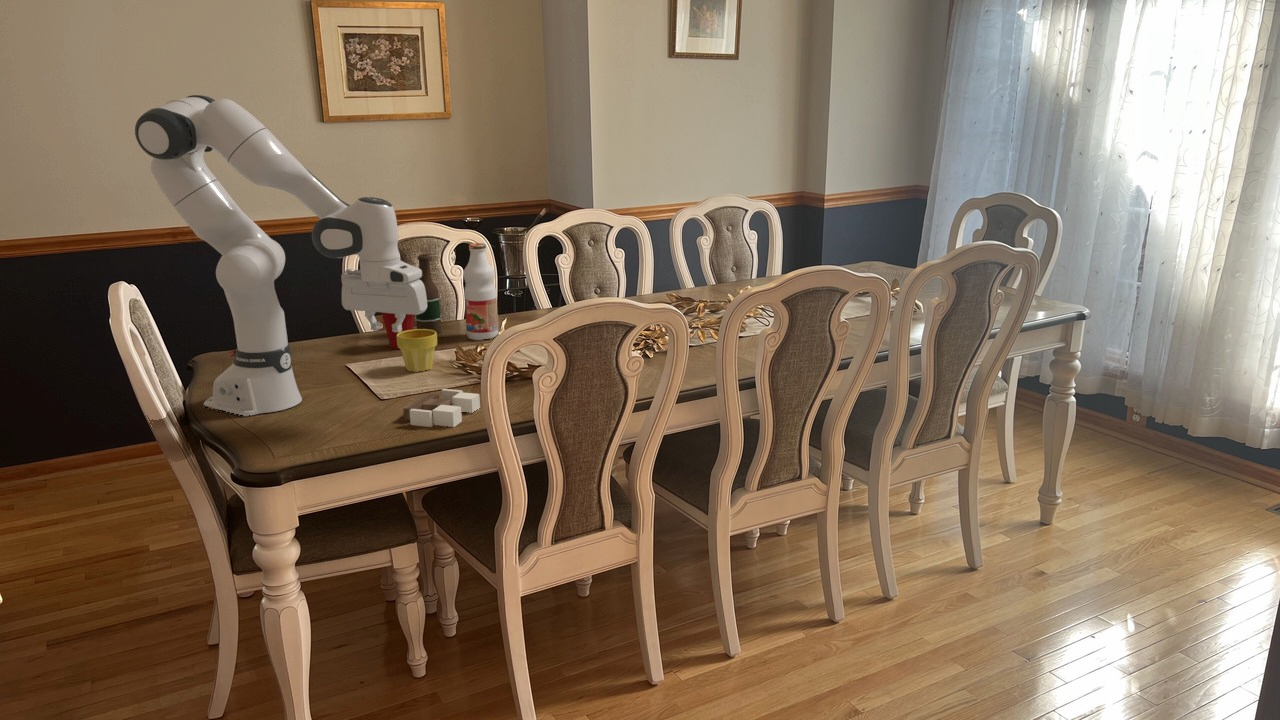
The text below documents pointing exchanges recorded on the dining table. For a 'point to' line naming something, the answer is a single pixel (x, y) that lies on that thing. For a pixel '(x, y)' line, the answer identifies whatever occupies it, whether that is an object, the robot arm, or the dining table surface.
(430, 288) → the beer bottle
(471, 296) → the fruit juice
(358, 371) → the dining table surface
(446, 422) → the cream T dock
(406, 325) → the plastic cup
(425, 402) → the walnut T block
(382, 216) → the robot arm
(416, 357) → the plant pot
